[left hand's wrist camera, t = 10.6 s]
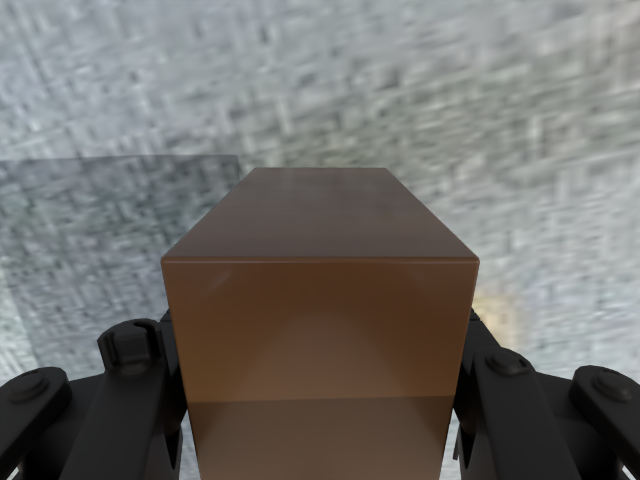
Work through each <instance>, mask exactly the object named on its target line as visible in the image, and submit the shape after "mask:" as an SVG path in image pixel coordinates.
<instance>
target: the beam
mask: <svg viewBox="0 0 640 480" xmlns="http://www.w3.org/2000/svg"><path fill="white" fill-rule="evenodd" d="M479 264H480V261H479V258H478V257H477V256H476V255H475V254H474V253H473V252H472V251H471V250H470V249H469V248H468V247H467V246H466V245H465V244H464V243H463V242H462V241H461V240H460V239H459V238H458V237H457V236H456V235H455V234H454V233H452V232H451V231H450V230H449V229H448V228H447V227H446V226H445V225H444V224H443V223H442V222H441V221H440V220H439V219H438V218H437V217H436V216H435V215H434V214H433V213H432V212H431V211H430V210H429V209H428V208H427V207H426V206H425V205H424V204H422V203H421V202H420V201H419V200H418V199H417V198H416V197H415V196H414V195H413V194H412V193H411V192H410V191H409V190H408V189H407V188H406V187H405V186H404V185H403V184H402V183H401V182H400V181H399V180H398V179H397V178H396V177H395V176H394V175H392V174H391V173H390V172H389V171H388V170H387V169H386V168H254V169H253V170H252V171H251V172H250V173H249V174H248V175H247V176H246V177H245V178H244V179H243V180H242V181H241V182H240V183H239V184H238V185H237V186H236V187H235V188H233V189H232V190H231V191H230V192H229V193H228V194H227V195H226V196H225V197H224V198H223V199H222V200H221V201H220V202H219V203H218V204H217V205H216V206H215V207H214V208H213V209H212V210H211V211H209V212H208V213H207V214H206V215H205V216H204V217H203V218H202V219H201V220H200V221H199V222H198V223H197V224H196V225H195V226H194V227H193V228H192V229H191V230H190V231H189V232H188V233H187V234H185V235H184V236H183V237H182V238H181V239H180V240H179V241H178V242H177V243H176V244H175V245H174V246H173V247H172V248H171V249H170V250H169V251H168V252H167V253H166V254H165V255H164V256H163V257H162V258H161V267H162V273H163V278H164V284H165V289H166V294H167V300H168V305H169V311H170V316H171V321H172V327H173V332H174V338H175V343H176V348H177V354H178V359H179V365H180V370H181V375H182V381H183V386H184V391H185V397H186V402H187V408H188V413H189V418H190V424H191V429H192V435H193V440H194V445H195V451H196V456H197V462H198V467H199V472H200V478H201V480H439V477H440V472H441V466H442V461H443V456H444V450H445V445H446V440H447V434H448V429H449V424H450V418H451V413H452V408H453V403H454V397H455V392H456V387H457V381H458V376H459V371H460V365H461V360H462V355H463V349H464V344H465V339H466V333H467V328H468V323H469V317H470V312H471V307H472V301H473V296H474V291H475V286H476V280H477V275H478V270H479Z"/></svg>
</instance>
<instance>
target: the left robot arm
mask: <svg viewBox="0 0 640 480" xmlns="http://www.w3.org/2000/svg"><path fill="white" fill-rule="evenodd" d="M97 343H98V346H99V349H100V353H101V356H102V360H103V363H104V367H105V372H104V373H103V374H99V375H96V376H91V377H86V378H82V379H77V380H73V381H68V378H67V375H66V372H65V371H63V370H62V369H61V368H57V367H44V368H38V369H34V370H32V371H28V372H25V373H23V374H21V375H19V376H17V377H15V378H13V379H11V380H9V381H8V382H7V383H5V384H4V385H3V386H1V387H0V480H7V478H8V477H9V476H10V475H11V473H12V472H13V471H14V470H15V468H16V467H17V468H18V470H19V472H18V473H17V474H16V475H15V477H14V478H13V479H12V480H179V472H180V462H181V453H182V443H183V434H182V428H181V422H182V420H183V418H184V415H185V413H186V411H187V409H188V408H187V402H186V397H185V391H184V386H183V381H182V375H181V370H180V365H179V359H178V354H177V348H176V343H175V338H174V332H173V327H172V321H171V316H170V311H169V309H168V310H167V312H166V314H164V316H163V317H162V318H161V320H160V322H159V323H158V322H157V321H155V320H151V319H147V318H146V319H133V320H129V321H125V322H122V323H120V324H117V325H115V326H113V327H111V328H109V329H108V330H107V331H105V332H104V333H102V335H101V336H100V337H99V338H98V339H97ZM453 408H454V411H455V413H456V415H457V418H458V420H459V422H460V423H459V428H458V433H457V438H456V443H455V448H454V453H453V459H454V460H457V459H458V454H459V462H460V471H461V480H630V479H629V478H628V477H627V475H626V474H625V473H624V472H623V470H622V468H623V466H624V465H625V467H626V468H627V469H628V470H629V472H630V473H631V474H632V475H633V476H634V478H635V479H636V480H640V385H639V384H638V383H636V382H635V381H634V380H632V379H631V378H629V377H627V376H625V375H623V374H621V373H619V372H617V371H614V370H612V369H608V368H605V367H600V366H593V365H588V366H581V367H579V368H578V369H577V370H576V371H575V373H574V376H573V379H572V380H570V379H565V378H561V377H556V376H551V375H547V374H543V373H539V372H536V371H535V369H534V368H533V366H532V365H531V363H530V362H529V361H528V360H527V359H525V358H524V357H523V356H522V355H520V354H518V353H516V352H514V351H512V350H510V349H507V348H503V347H501V346H500V345H499V344H498V342H497V341H496V340H495V338H494V337H493V335H492V334H491V333H490V331H489V330H488V329H487V327H486V326H485V325H484V323H483V322H482V321H480V318H479V317H478V315H477V314H476V313H474V310H473V308H472V307H471V312H470V317H469V323H468V328H467V333H466V339H465V344H464V349H463V355H462V360H461V365H460V371H459V376H458V381H457V387H456V392H455V397H454V403H453ZM453 408H452V410H453ZM188 414H189V413H188ZM451 416H452V413H451ZM189 419H190V418H189ZM450 421H451V418H450Z"/></svg>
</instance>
